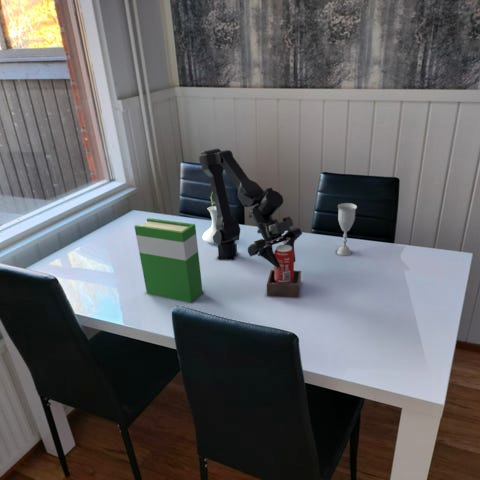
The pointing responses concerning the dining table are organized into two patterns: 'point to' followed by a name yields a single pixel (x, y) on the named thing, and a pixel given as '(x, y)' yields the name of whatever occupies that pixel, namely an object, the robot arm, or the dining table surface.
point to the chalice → (346, 223)
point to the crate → (284, 286)
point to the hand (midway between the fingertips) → (286, 264)
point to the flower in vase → (212, 230)
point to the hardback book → (170, 259)
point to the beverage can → (284, 264)
